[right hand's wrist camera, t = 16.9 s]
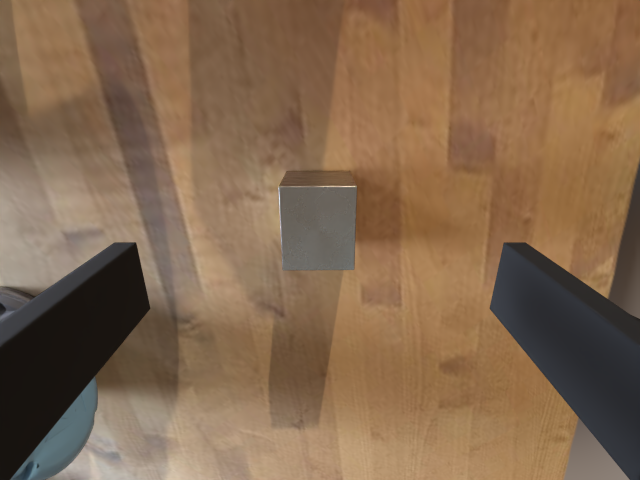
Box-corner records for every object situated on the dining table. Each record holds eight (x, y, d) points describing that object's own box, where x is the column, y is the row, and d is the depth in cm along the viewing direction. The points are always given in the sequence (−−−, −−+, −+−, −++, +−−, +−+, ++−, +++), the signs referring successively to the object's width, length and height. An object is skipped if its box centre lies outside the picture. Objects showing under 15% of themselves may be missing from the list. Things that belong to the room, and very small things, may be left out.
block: (348, 241, 40) (354, 270, 33) (289, 241, 40) (282, 270, 33) (350, 170, 37) (357, 186, 30) (286, 171, 37) (278, 186, 30)
